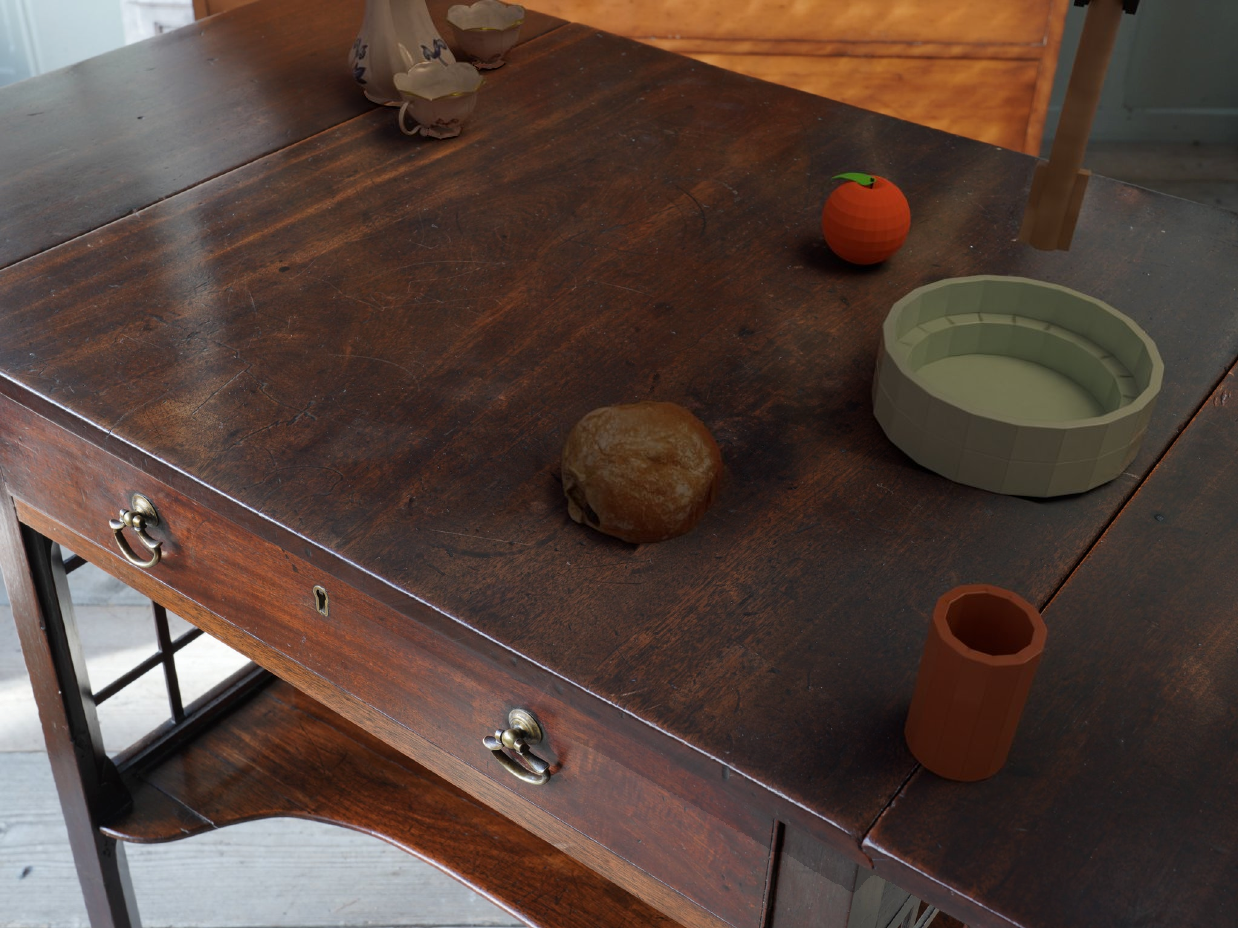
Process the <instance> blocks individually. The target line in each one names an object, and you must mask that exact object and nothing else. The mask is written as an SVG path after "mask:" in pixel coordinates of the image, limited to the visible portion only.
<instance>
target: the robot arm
mask: <svg viewBox="0 0 1238 928" xmlns="http://www.w3.org/2000/svg"><path fill="white" fill-rule="evenodd" d="M1089 2H1090V0H1074V2H1073V7H1078V8H1085V6H1088V5H1089ZM1140 2H1141V0H1124V3H1123V7H1122V10H1123V12H1124V14H1125V15H1126V14H1127V15H1132V16H1135V15H1136V14H1137V11H1138V8H1139V5H1140Z"/></svg>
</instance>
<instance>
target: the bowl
mask: <svg viewBox="0 0 1238 928" xmlns="http://www.w3.org/2000/svg"><path fill="white" fill-rule="evenodd" d="M1164 372H1165V364H1164V362H1163V359H1162V357H1161V355H1160V353H1159V350H1158V347H1157V344H1156V343H1155V341H1154V340H1153V339H1152V338H1151V337H1150V336H1149V335H1148V334H1147V333H1146V332H1145V331H1144V330H1143V329H1142V328H1141V327H1140V326H1139V324H1138V323H1137V322H1135V320H1133V318H1131V317H1129V316H1127V315H1126V314H1124V313H1122V312H1121V311H1120V310H1118V309H1116V308H1114V307H1113V306H1111V305H1110V304H1108V303H1106V302H1105V301H1103V300H1100V299H1098V298H1096V297H1093V296H1090V295H1088V294H1085V293H1084V292H1080V291H1077V290H1074V289H1073V288H1069V287H1067V286H1065V285H1061V284H1056V283H1051V282H1047V281H1042V280H1037V279H1033V278H1030V277H1029V278H1028V277H1023V276H1011V275H1010V276H1009V275H996V274H977V275H969V276H958V277H950V278H944V279H940V280H938V281H935V282H931V283H928V284H926V285H921V286H919V287H916V288H914V289H913V290H911V291H910V292H909V293H907V294H906V295H904V296H903V297H901V298H900V299H899V300H897V301H896V302H895V303H893V304H892V305H891V308H890V310H889V312H888V314H887V315H886V317H885V319H884V321H883V323H882V327H881V333H880V340H879V345H878V350H877V356H876V361H875V368H874V374H873V380H872V385H871V399H872V400H871V401H872V402H871V403H872V411H873V413H872V414H873V416H874V417H875V419H876V420H877V422H878V424H879V426H880V427H881V429H882V430H883V432H884V434H885V435H886V437H887V439H888V440H889V441H890V442H891V443H892V444H894V445H895V446H896V447H897V448H898V449H899V450H900V451H902V452H903V453H904V454H906V456H908V457H909V458H910V459H912V461H914V462H915V463H916V464H918V465H920V466H921V467H923V468H925V469H928V470H930V471H932V472H934V473H935V474H937V475H939V476H942V477H944V478H946V479H948V480H950V481H951V482H955V483H958V484H962V485H965V486H968V487H973V488H976V489H980V490H984V491H988V492H991V493H995V494H1000V495H1007V496H1009V495H1010V496H1023V497H1033V498H1034V497H1035V498H1036V497H1037V498H1051V497H1058V496H1066V495H1073V494H1079V493H1086V492H1088V491H1091V490H1093V489H1095V488H1097V487H1099V486H1101V485H1104V484H1106V483H1109V482H1111V481H1113V480H1115V479H1116V478H1119V476H1121V475H1122V473H1123V472H1124V471H1125V470H1126V469H1127V468H1128V467H1129V466H1130V465H1131V464H1132V462H1133V461H1135V459H1136V458H1137V456H1138V454H1139V452H1140V448H1141V445H1142V443H1143V440H1144V437H1145V434H1146V431H1147V428H1148V426H1149V423H1150V420H1151V417H1152V414H1153V411H1154V409H1155V406H1156V403H1157V400H1158V398H1159V395H1160V392H1161V388H1162V383H1163V378H1164Z"/></svg>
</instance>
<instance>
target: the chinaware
mask: <svg viewBox="0 0 1238 928" xmlns="http://www.w3.org/2000/svg"><path fill="white" fill-rule="evenodd" d="M526 13H527V11H526V9H525V7H524V6H523V5H520V4H513V5H507V4H504V3H502V2H501V1H499V0H478V1H476V2H474V3H473V4H471V5H465V4H461V3H459V4H453V5H450V7H449V8H447V10H446V17H444V21H445V25H446V26H447V27H450V29H451V31H452V34H453V37H454V40H455V42H456V44H457V45H458V47H459V48H460V50H461V51H462V52H463V53H465V54H466V55H467V56H468V57H470V58H471V59H472V60H473V59H474V60H479V62H481V64H483V63H485V64H493V63H496V62H497V61H498V60H499V59H501V60H502V58H505V57H506V56H507V55H509V54H510V53H511V52H512V51H513V49H514V48H515V46H516V45H517V42H518V40H519V37H520V33H521V28H522V25H523V23H524V22H525V20H526ZM347 64H348V67H349V69H350V70H351V71H352V76H353V79H354V81H355V82H356V83H357V85H358V86H359V87H361V88H362V89H363V91H364V90H366V91H367V93H368V94H369V95H371V96H373V97H375V98H378V99H381V100H386V101H393V102H402V101H404V104H403V106H402V107H400V109H399V113H398V124H399V128H400V130H401V132H402V133H404V134H405V135H408V136H413V135H414V134H416V133H417V132H418V130H419V129H420V130H419V134H420V136H422V137H428V136H427V135H428V134H429V130H428V128H430V129H431V130H433V131H435V132H436V133H440V135H443V134H444V133H455V130H454V129H456V128H455V127H457V126H462V124H463V123H465V122H466V121H467V120H468V119H469V118H470V117H471V115H472V113H473V111H474V110H475V107H476V104H477V100H478V96H479V91H480V89H481V88H482V87H483V86H485V85H486V83H487V78H486V77H485V75H484V74H480V72H479V70H478V68H476V67H475V66H473V64H471V62H466V61H457V60H456V58H455V55H454V54H453V53H452V51H451V50H450V48H449V46H448V44H447V42H446V41H445V39H444V38H443V36H442V35H441V34H440V32H439V31H438V29H437V28H436V27H435V24H434V22H433V20H432V18H431V15H430V12H429V9H428V6H427V3H426V0H365V7H364V13H363V19H362V24H361V28H360V30H359V33H358V35H357V37H356V38H355V40H354V43H353V45H352V46H351V49H350V51H349V54H348V58H347ZM406 111H407V112H408V114H409V115H410V116H411V118H412V119H413V120H414V121H415V122H417V123H418V124H419V125H417V126H415V127H414V128H413V129H412V130H411V131H408V130H407V129H406V127H405V113H406Z"/></svg>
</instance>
